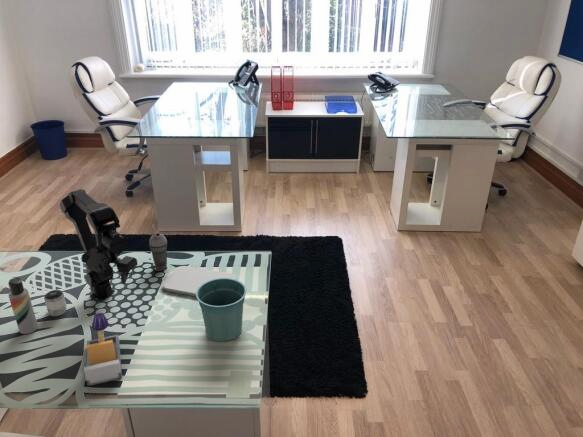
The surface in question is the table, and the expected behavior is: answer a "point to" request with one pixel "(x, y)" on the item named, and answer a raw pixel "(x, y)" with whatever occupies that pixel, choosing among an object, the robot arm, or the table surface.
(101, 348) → the block
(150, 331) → the table surface
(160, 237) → the beverage cup
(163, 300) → the table surface
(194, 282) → the tablet
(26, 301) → the lotion bottle
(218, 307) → the flower pot
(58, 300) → the jar with dark lid
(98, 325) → the toy lamp
